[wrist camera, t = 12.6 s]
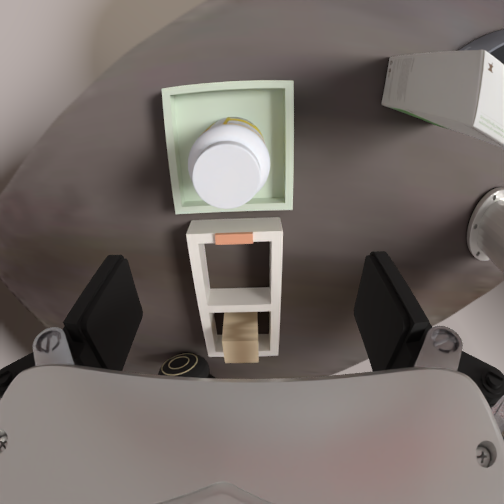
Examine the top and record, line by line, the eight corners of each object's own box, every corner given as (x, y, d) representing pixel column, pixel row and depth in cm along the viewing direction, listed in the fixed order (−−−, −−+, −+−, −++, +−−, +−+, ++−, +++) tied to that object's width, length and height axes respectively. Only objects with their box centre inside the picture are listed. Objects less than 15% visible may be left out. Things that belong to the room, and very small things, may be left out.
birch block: (256, 303, 41) (258, 340, 35) (257, 326, 44) (258, 362, 38) (225, 304, 41) (221, 341, 35) (227, 326, 44) (225, 362, 38)
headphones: (189, 388, 53) (177, 480, 36) (154, 341, 46) (127, 449, 29) (230, 384, 52) (226, 481, 35) (202, 335, 45) (186, 453, 28)
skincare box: (378, 104, 27) (467, 127, 14) (388, 52, 24) (481, 43, 11) (436, 126, 28) (527, 164, 15) (445, 78, 25) (541, 94, 11)
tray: (290, 81, 26) (293, 80, 24) (289, 201, 33) (292, 209, 31) (168, 88, 26) (161, 88, 24) (180, 205, 33) (175, 214, 31)
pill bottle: (202, 175, 31) (180, 221, 21) (201, 116, 27) (175, 132, 18) (263, 175, 31) (271, 222, 21) (266, 116, 28) (276, 132, 18)
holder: (279, 217, 34) (283, 232, 31) (276, 338, 45) (278, 357, 42) (191, 220, 35) (185, 236, 31) (210, 339, 45) (208, 358, 42)
